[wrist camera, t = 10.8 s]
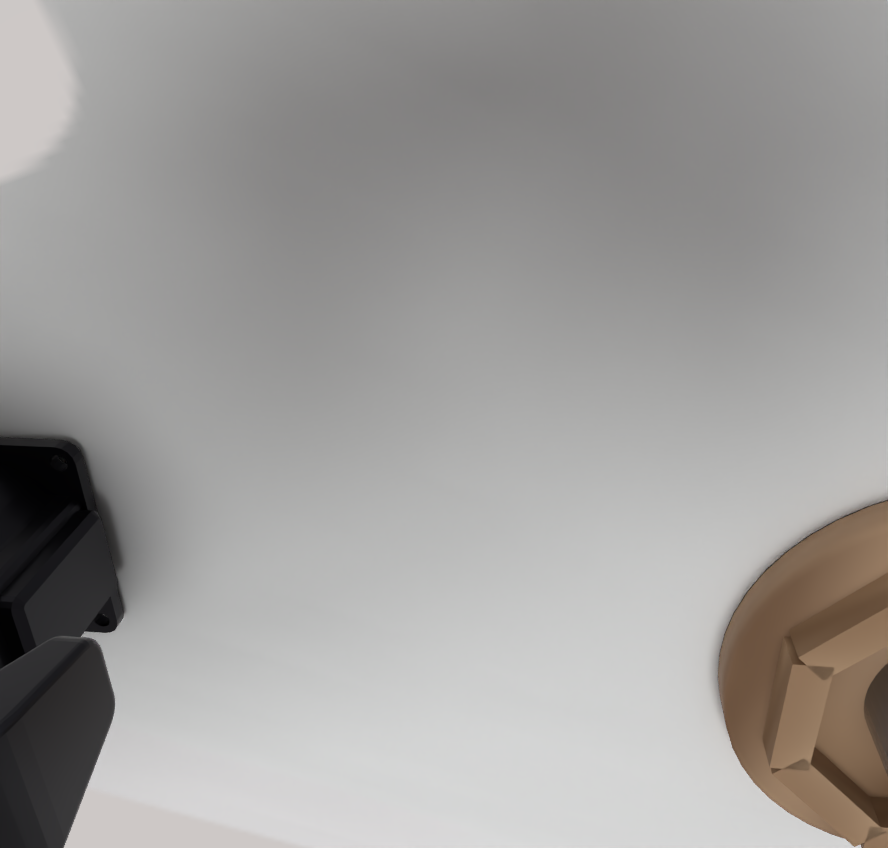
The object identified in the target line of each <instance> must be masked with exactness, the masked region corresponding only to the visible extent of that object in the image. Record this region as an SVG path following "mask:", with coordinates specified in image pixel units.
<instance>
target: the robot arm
mask: <svg viewBox="0 0 888 848" xmlns="http://www.w3.org/2000/svg"><path fill="white" fill-rule="evenodd" d="M57 455H58V456H61V457H63V458H64V459H65V460H66V462H67V464H66V463H63V462H62V461H61V460H59V458H58V456H57ZM117 586H118V582H117V578H116V574H115V571H114V567H113V563H112V559H111V555H110V551H109V547H108V543H107V539H106V535H105V532H104V528H103V524H102V520H101V518H100V516H99V515H98V513H97V509H96V505H95V501H94V497H93V493H92V490H91V486H90V482H89V478H88V474H87V470H86V466H85V462H84V459H83V456H82V453H81V451H80V450H79V449H78V448H77V447H76V446H75V445H74V444H72V443H70V442H68V441H64V440H48V439H24V438H0V848H64V845H65V843H66V840H67V838H68V835H69V832H70V830H71V827H72V824H73V822H74V819H75V817H76V814H77V812H78V809H79V806H80V804H81V801H82V799H83V796H84V793H85V791H86V788H87V786H88V783H89V780H90V778H91V775H92V772H93V770H94V767H95V765H96V762H97V759H98V757H99V754H100V752H101V749H102V746H103V744H104V741H105V739H106V736H107V733H108V731H109V728H110V725H111V723H112V720H113V715H114V710H115V698H114V692H113V689H112V685H111V682H110V678H109V675H108V671H107V667H106V664H105V660H104V657H103V653H102V650H101V647H100V645H99V644H98V643H97V642H96V641H95V640H94V639H91V638H85V637H81V636H82V634H83V633H84V631H88V632H102V633H107V632H112V631H114V630H115V629H116V628H117V626H118V625H119V623H120V622H121V620H122V618H123V610H122V606H121V602H120V598H119V594H118V590H117ZM102 614H104V615H105V616H107V617H105V616H104V615H102Z"/></svg>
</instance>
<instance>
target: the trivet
mask: <svg viewBox="0 0 888 848" xmlns="http://www.w3.org/2000/svg"><path fill="white" fill-rule="evenodd" d="M887 663H888V501H885V502H882V503H879V504H876V505H873V506H869V507H867V508H865V509H862V510H860V511H858V512H855V513H853V514H851V515H848V516H846V517H844V518H841V519H839V520H837V521H835V522H834V523H832V524H830V525H828V526H826V527H825V528H823V529H821V530H819V531H817V532H816V533H814V534H812V535H810V536H809V537H807V538H806V539H805V540H803V541H802V542H800V543H799V544H798V545H796V546H795V547H793V548H792V549H791V550H789V551H788V552H786V553H785V554H784V555H783V556H782V557H781V558H780V559H779V560H777V561H776V562H775V563H774V564H773V565H772V566H771V567H770V568H769V569H767V570H766V571H765V572H764V573H763V575H762V576H761V577H760V578H759V579H758V580H757V582H756V583H755V584H754V585H753V586H752V587H751V589H750V590H749V591H748V592H747V594H746V595H745V597H744V598H743V600H742V602H741V603H740V605H739V606H738V608H737V609H736V611H735V612H734V615H733V617H732V619H731V621H730V624H729V626H728V628H727V630H726V633H725V636H724V639H723V643H722V647H721V651H720V655H719V667H718V682H719V692H720V698H721V703H722V708H723V713H724V717H725V722H726V727H727V730H728V734H729V737H730V741H731V744H732V747H733V749H734V751H735V753H736V755H737V757H738V759H739V761H740V763H741V765H742V767H743V768H744V770H745V771H746V772H747V774H748V775H749V776H750V778H751V779H752V780H753V782H754V783H755V784H756V785H757V786H758V787H759V788H760V789H761V790H762V791H763V792H764V793H765V794H766V795H767V796H768V797H769V798H770V799H771V800H773V801H774V802H775V803H776V804H778V805H779V806H780V807H782V808H783V809H784V810H786V811H787V812H788V813H790V814H792V815H794V816H795V817H797V818H799V819H800V820H802V821H804V822H806V823H807V824H809V825H812V826H814V827H816V828H818V829H821V830H823V831H825V832H827V833H830V834H832V835H835V836H838V837H841V838H844V839H846V840H847V841H848V842H850V843H851V844H852V845H853V846H854V847H855V846H857V845H860V844H861V847H862V848H888V776H887V774H886V771H885V769H884V766H883V764H882V761H881V759H880V756H879V754H878V751H877V749H876V746H875V744H874V741H873V739H872V736H871V734H870V731H869V729H868V726H867V723H866V720H865V716H864V700H865V696H866V693H867V690H868V688H869V686H870V684H871V682H872V681H873V679H874V678H875V676H876V675H877V674H878V673H879V671H880V670H881V669H882V668H883V667H884V666H885V665H886V664H887Z"/></svg>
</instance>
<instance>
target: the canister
mask: <svg viewBox="0 0 888 848" xmlns="http://www.w3.org/2000/svg"><path fill="white" fill-rule="evenodd" d="M864 716H865V720H866V723H867V726H868V729H869V731H870V734H871V736H872V739H873V741H874V744H875V746H876V749H877V751H878V754H879V756H880V759H881V761H882V764H883V766H884V769H885V771H886V774H887V776H888V663H887V664H886V665H885V666H884V667H883V668H882V669H881V670H880V671H879V673H878V674H877V675H876V676H875V678H874V679H873V681H872V682H871V684H870V686H869V688H868V690H867V693H866V696H865V700H864Z"/></svg>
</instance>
